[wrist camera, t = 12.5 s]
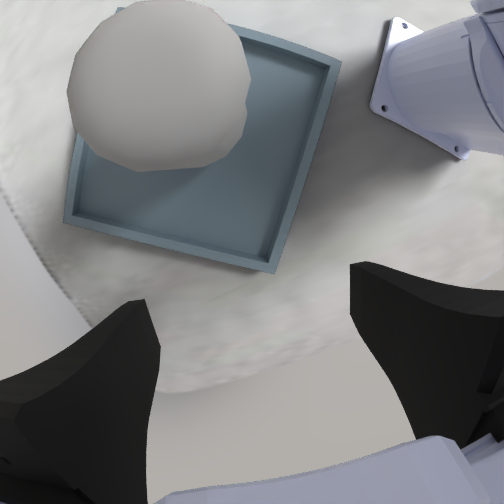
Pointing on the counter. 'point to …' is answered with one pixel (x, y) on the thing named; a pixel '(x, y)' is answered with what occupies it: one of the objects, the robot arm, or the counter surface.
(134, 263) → the counter surface
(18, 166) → the counter surface
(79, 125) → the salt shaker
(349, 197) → the counter surface
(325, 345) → the counter surface
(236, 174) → the tray
